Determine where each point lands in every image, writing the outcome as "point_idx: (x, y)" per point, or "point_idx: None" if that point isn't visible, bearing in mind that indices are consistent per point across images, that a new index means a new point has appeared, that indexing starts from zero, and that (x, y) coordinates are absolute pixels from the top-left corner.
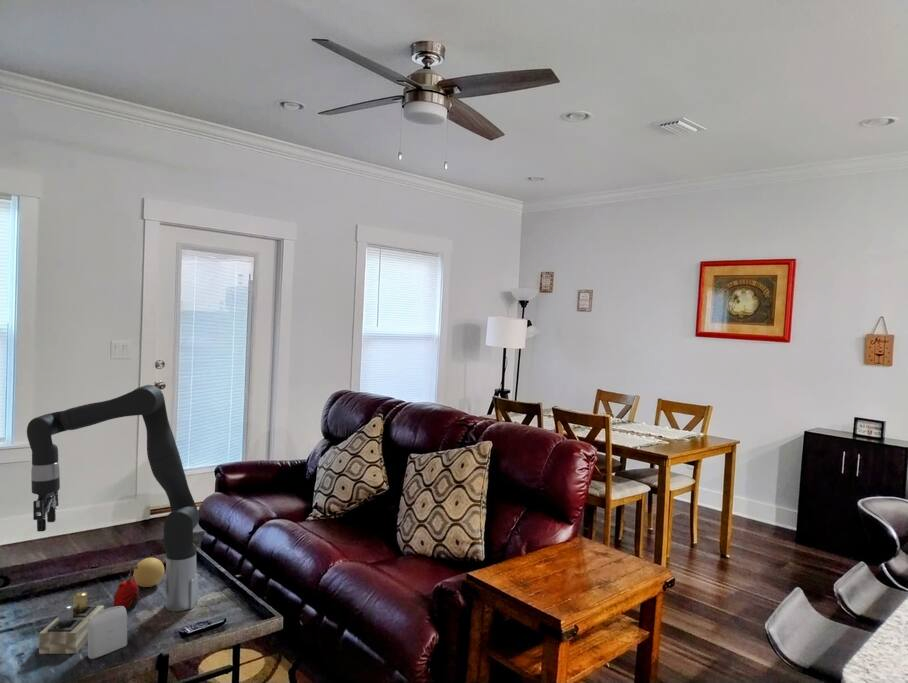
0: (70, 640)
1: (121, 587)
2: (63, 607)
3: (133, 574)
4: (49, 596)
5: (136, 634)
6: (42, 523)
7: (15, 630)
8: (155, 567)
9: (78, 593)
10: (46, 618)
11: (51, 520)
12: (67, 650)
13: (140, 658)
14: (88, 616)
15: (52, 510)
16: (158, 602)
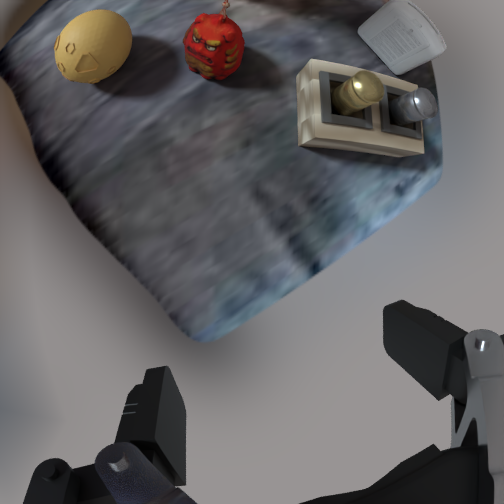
0: None
1: (236, 35)
2: (428, 106)
3: (103, 72)
4: (153, 279)
5: (329, 16)
6: (458, 328)
7: (320, 255)
8: (110, 11)
9: (365, 92)
10: (268, 218)
11: (173, 392)
12: None
13: None
14: None
15: (159, 460)
16: (194, 9)
